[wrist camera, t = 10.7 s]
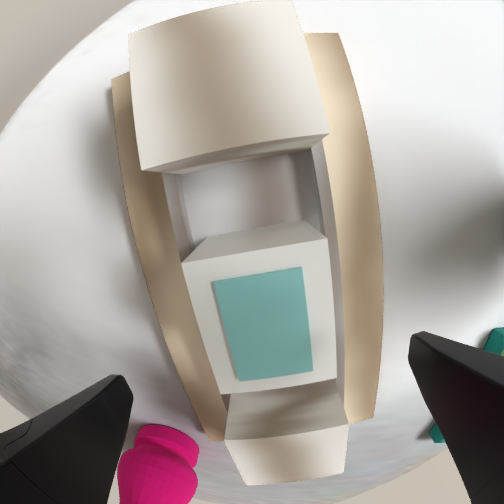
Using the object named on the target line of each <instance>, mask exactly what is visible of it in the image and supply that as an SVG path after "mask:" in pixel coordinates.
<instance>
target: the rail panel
mask: <svg viewBox="0 0 504 504" xmlns="http://www.w3.org/2000/svg"><path fill="white" fill-rule="evenodd" d="M128 38H129V66H130V72H127V73H125V74H123V75H120V76H118V77H116V78H113V79H112V96H113V110H114V121H115V130H116V139H117V147H118V154H119V161H120V168H121V174H122V180H123V186H124V191H125V197H126V202H127V207H128V212H129V216H130V221H131V225H132V230H133V234H134V238H135V242H136V246H137V250H138V254H139V258H140V262H141V266H142V269H143V273H144V276H145V280H146V283H147V287H148V290H149V293H150V297H151V300H152V303H153V306H154V309H155V312H156V315H157V318H158V321H159V324H160V327H161V330H162V333H163V335H164V338H165V341H166V344H167V346H168V349H169V352H170V354H171V357H172V359H173V362H174V364H175V367H176V369H177V372H178V374H179V377H180V379H181V382H182V384H183V386H184V389H185V391H186V393H187V395H188V398H189V400H190V402H191V404H192V406H193V409H194V411H195V413H196V415H197V417H198V419H199V421H200V423H201V425H202V427H203V429H204V431H205V433H206V435H207V437H208V439H209V441H225V443H226V446H227V448H228V450H229V452H230V454H231V456H232V458H233V460H234V462H235V464H236V466H237V468H238V470H239V472H240V474H241V476H242V478H243V480H244V482H245V483H246V485H264V484H277V483H287V482H295V481H302V480H309V479H315V478H320V477H326V476H331V475H335V474H340V473H343V471H344V464H345V457H346V448H347V439H348V429H349V424H351V423H355V422H359V421H362V420H366V419H370V418H373V416H374V410H375V403H376V396H377V389H378V380H379V371H380V360H381V348H382V331H383V257H382V240H381V227H380V216H379V206H378V197H377V190H376V182H375V175H374V169H373V163H372V157H371V151H370V146H369V141H368V136H367V131H366V126H365V122H364V118H363V113H362V109H361V105H360V101H359V97H358V94H357V90H356V86H355V83H354V79H353V76H352V73H351V69H350V66H349V63H348V60H347V57H346V54H345V51H344V48H343V45H342V42H341V40H340V37H339V34H338V33H303V31H302V28H301V25H300V22H299V19H298V16H297V14H296V11H295V8H294V6H293V3H292V0H259V1H251V2H243V3H237V4H231V5H225V6H220V7H215V8H210V9H206V10H202V11H198V12H194V13H190V14H186V15H183V16H179V17H176V18H172V19H169V20H166V21H163V22H160V23H157V24H154V25H152V26H149V27H146V28H143V29H141V30H138V31H136V32H133V33H131V34H129V35H128ZM299 220H305V221H307V222H308V223H309V224H310V225H312V226H313V227H314V228H315V229H317V230H318V231H319V232H320V233H321V234H323V235H324V236H325V237H326V238H327V239H328V248H329V257H330V266H331V277H332V288H333V300H334V315H335V333H336V359H337V378H334V379H330V380H325V381H320V382H315V383H309V384H304V385H298V386H292V387H285V388H278V389H271V390H262V391H253V392H243V393H231V394H220V391H219V388H218V385H217V382H216V380H215V377H214V374H213V371H212V368H211V365H210V362H209V359H208V356H207V352H206V349H205V346H204V343H203V340H202V337H201V333H200V330H199V327H198V323H197V320H196V316H195V313H194V309H193V306H192V302H191V299H190V295H189V291H188V288H187V284H186V280H185V276H184V272H183V269H182V265H181V263H182V262H183V261H184V260H185V259H186V258H187V257H188V256H189V255H190V254H191V253H192V252H193V251H194V250H195V249H196V248H197V247H198V246H199V245H200V244H201V243H202V242H203V241H204V240H205V239H206V238H207V237H208V236H213V235H219V234H224V233H230V232H235V231H241V230H246V229H252V228H258V227H263V226H269V225H275V224H281V223H287V222H293V221H299Z"/></svg>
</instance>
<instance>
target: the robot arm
mask: <svg viewBox="0 0 504 504" xmlns="http://www.w3.org/2000/svg"><path fill="white" fill-rule="evenodd" d="M408 361H409V364H410V367H411V369H412V372H413V374H414V376H415V379H416V381H417V384H418V386H419V389H420V391H421V394H422V396H423V398H424V401H425V403H426V405H427V407H428V409H429V410H430V412H431V414H432V416H433V418H434V420H435V422H436V424H437V426H438V428H439V430H440V432H441V434H442V436H443V438H444V440H445V442H446V444H447V446H448V449H449V451H450V453H451V455H452V457H453V459H454V462H455V464H456V466H457V468H458V471H459V473H460V475H461V478H462V480H463V482H464V485H465V487H466V490H467V492H468V495H469V498H470V499H471V504H504V356H501V355H498V354H495V353H491V352H488V351H485V350H482V349H478V348H475V347H472V346H469V345H465V344H462V343H459V342H456V341H453V340H450V339H446V338H443V337H440V336H437V335H434V334H431V333H428V332H425V331H422V332H419V333H416V334H413V335H412V336H411V339H410V347H409V354H408ZM132 404H133V394H132V391H131V390H130V388H129V386H128V384H127V382H126V380H125V378H124V377H123V376H122V375H115V374H112V375H109V376H107V377H106V378H104V379H102V380H100V381H99V382H97V383H95V384H94V385H92V386H90V387H88V388H87V389H85V390H83V391H81V392H79V393H78V394H76V395H74V396H72V397H71V398H69V399H67V400H65V401H63V402H62V403H60V404H58V405H56V406H54V407H52V408H51V409H49V410H47V411H45V412H43V413H41V414H39V415H38V416H36V417H34V418H32V419H30V420H28V421H26V422H24V423H22V424H20V425H18V426H16V427H14V428H12V429H9V430H8V431H5V432H3V433H0V504H107V501H108V497H109V493H110V489H111V486H112V482H113V478H114V475H115V471H116V468H117V464H118V461H119V457H120V454H121V451H122V447H123V444H124V441H125V437H126V433H127V428H128V423H129V418H130V413H131V408H132Z"/></svg>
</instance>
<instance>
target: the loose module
mask: <svg viewBox="0 0 504 504" xmlns="http://www.w3.org/2000/svg"><path fill="white" fill-rule="evenodd" d="M181 265H182V269H183V272H184V276H185V280H186V284H187V288H188V291H189V295H190V299H191V302H192V306H193V309H194V313H195V316H196V320H197V323H198V327H199V330H200V333H201V337H202V340H203V343H204V346H205V349H206V352H207V356H208V359H209V362H210V365H211V368H212V371H213V374H214V377H215V380H216V382H217V385H218V388H219V391H220V394H231V393H243V392H253V391H262V390H271V389H278V388H285V387H292V386H298V385H304V384H309V383H315V382H320V381H325V380H330V379H334V378H337V359H336V333H335V315H334V300H333V288H332V277H331V266H330V257H329V248H328V239H327V238H326V237H325V236H324V235H323V234H321V233H320V232H319V231H318V230H317V229H315V228H314V227H313V226H312V225H310V224H309V223H308V222H307V221H305V220H299V221H293V222H287V223H281V224H275V225H269V226H263V227H258V228H252V229H246V230H241V231H235V232H230V233H224V234H219V235H213V236H208V237H207V238H206V239H205V240H204V241H203V242H202V243H201V244H200V245H199V246H198V247H197V248H196V249H195V250H194V251H193V252H192V253H191V254H190V255H189V256H188V257H187V258H186V259H185V260H184V261H183V262H182V263H181Z"/></svg>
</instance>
